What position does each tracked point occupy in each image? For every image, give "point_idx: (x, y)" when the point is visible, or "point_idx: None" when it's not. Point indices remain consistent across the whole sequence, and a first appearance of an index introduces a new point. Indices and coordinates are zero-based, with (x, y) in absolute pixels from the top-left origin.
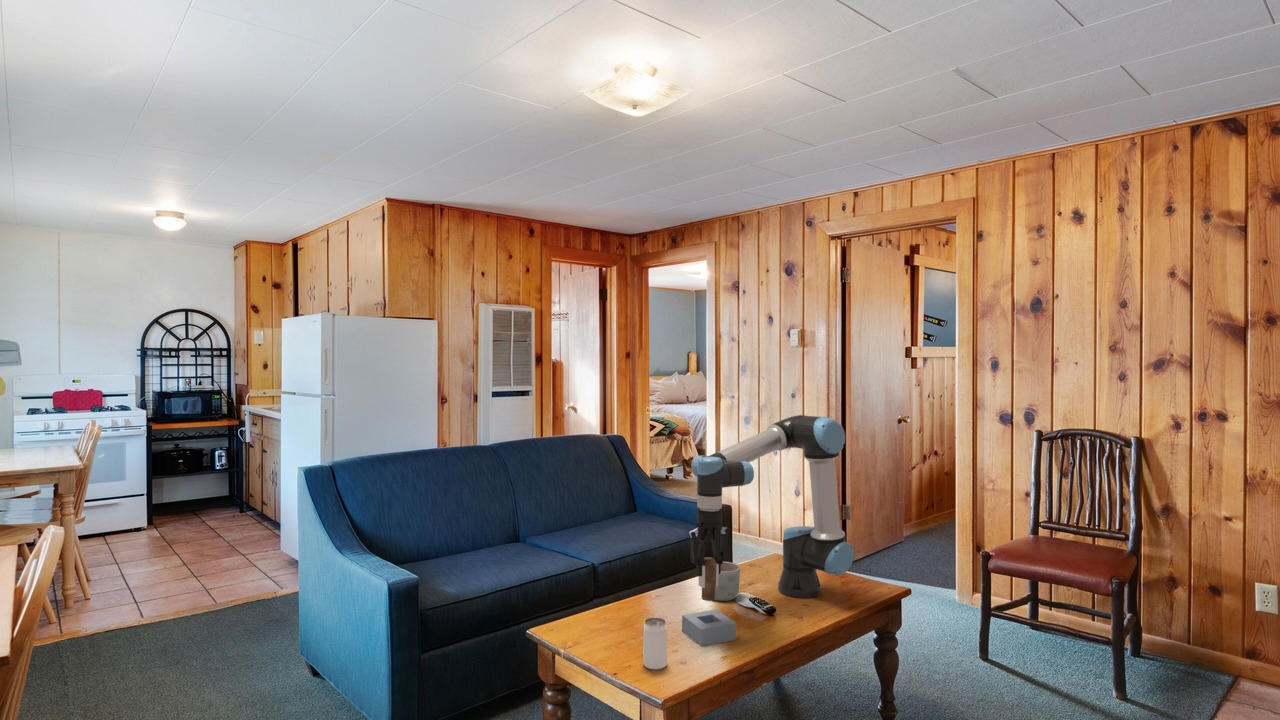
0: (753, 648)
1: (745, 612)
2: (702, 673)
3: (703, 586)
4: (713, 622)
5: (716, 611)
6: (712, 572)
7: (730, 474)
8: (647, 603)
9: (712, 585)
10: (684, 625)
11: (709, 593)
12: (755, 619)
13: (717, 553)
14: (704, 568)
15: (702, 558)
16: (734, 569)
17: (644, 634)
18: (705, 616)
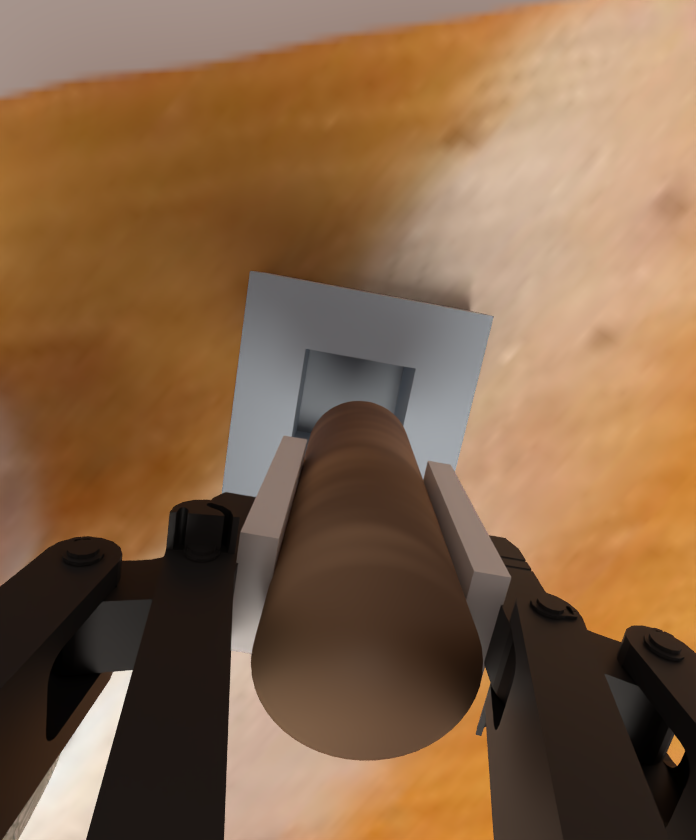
0: (258, 129)
1: (3, 512)
2: (690, 39)
3: (445, 468)
4: (362, 355)
5: (237, 475)
6: (371, 482)
7: None
8: (351, 806)
9: (362, 435)
10: None
11: (387, 423)
12: (10, 418)
13: (211, 666)
14: (478, 555)
15: (562, 672)
16: None
17: None
18: None
